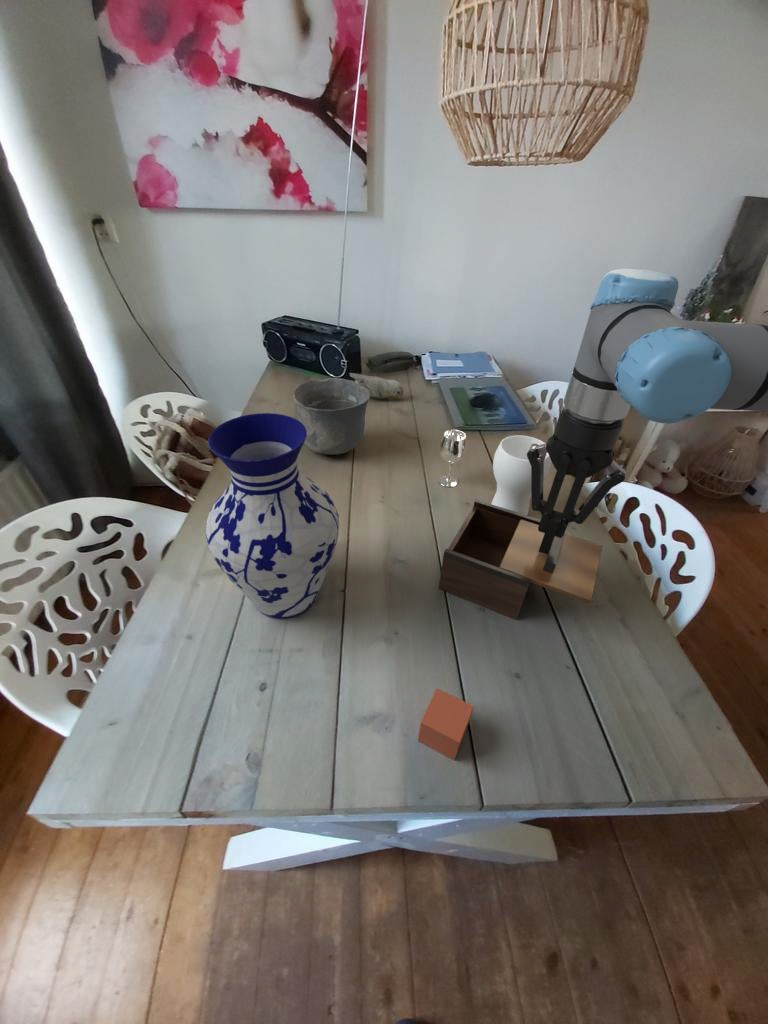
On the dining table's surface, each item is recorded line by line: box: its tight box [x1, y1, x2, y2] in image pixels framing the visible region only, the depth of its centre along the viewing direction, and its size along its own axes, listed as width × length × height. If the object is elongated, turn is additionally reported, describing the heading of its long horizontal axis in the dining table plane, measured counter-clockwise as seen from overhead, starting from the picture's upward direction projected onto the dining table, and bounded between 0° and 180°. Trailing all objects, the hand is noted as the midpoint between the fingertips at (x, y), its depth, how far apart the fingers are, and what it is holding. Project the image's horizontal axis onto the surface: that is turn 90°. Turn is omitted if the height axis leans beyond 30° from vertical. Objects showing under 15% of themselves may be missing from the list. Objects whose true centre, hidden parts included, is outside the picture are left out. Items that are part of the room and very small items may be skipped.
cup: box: [490, 434, 552, 516], centre depth 88 cm, size 11×11×15 cm
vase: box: [205, 412, 340, 619], centre depth 65 cm, size 19×19×30 cm
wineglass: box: [438, 429, 468, 488], centre depth 96 cm, size 6×6×12 cm
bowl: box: [292, 377, 371, 456], centre depth 105 cm, size 18×18×15 cm
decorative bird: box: [349, 372, 404, 401], centre depth 131 cm, size 5×16×8 cm, turn 84°
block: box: [417, 687, 475, 761], centre depth 55 cm, size 5×5×5 cm
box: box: [438, 499, 541, 621], centre depth 76 cm, size 16×14×9 cm
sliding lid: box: [499, 520, 603, 605], centre depth 70 cm, size 13×14×3 cm
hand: (545, 547), depth 70 cm, fingers closed
